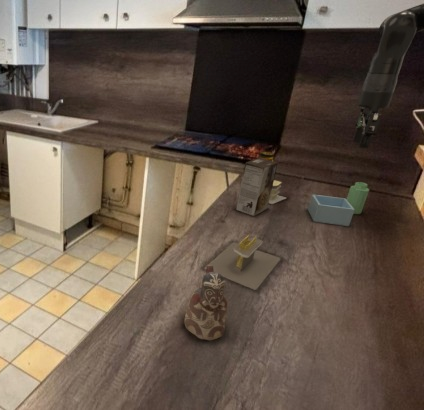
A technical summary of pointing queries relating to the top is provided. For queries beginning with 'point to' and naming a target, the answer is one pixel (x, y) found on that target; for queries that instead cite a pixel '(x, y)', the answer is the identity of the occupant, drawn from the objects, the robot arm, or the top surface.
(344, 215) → the case
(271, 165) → the coffee box
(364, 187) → the bottle
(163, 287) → the top surface
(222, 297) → the figurine
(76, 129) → the top surface
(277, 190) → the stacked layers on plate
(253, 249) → the platform
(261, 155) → the condiment
